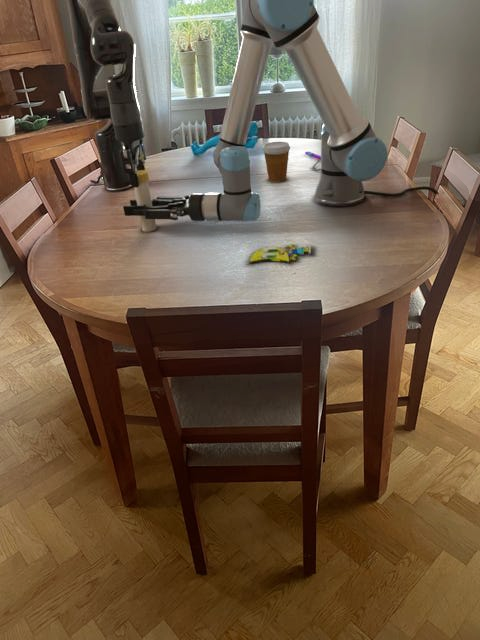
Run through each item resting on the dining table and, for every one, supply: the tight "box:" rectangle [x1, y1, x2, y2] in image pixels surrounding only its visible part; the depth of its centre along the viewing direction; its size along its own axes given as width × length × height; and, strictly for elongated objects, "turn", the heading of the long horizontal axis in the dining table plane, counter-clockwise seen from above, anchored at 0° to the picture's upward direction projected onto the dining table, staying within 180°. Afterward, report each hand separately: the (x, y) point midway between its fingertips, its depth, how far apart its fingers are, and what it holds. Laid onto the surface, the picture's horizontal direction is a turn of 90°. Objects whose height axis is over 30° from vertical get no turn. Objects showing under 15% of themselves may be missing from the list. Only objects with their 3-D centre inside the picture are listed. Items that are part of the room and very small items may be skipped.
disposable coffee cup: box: [262, 141, 291, 183], centre depth 169 cm, size 10×10×12 cm
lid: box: [137, 169, 150, 183], centre depth 133 cm, size 5×5×2 cm
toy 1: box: [190, 121, 260, 157], centre depth 206 cm, size 17×11×30 cm
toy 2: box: [248, 244, 312, 265], centre depth 120 cm, size 10×1×15 cm
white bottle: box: [133, 180, 157, 233], centre depth 137 cm, size 4×4×16 cm
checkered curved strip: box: [304, 151, 321, 171], centre depth 185 cm, size 24×2×20 cm
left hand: (139, 182), depth 134 cm, fingers open, 7 cm apart
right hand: (128, 207), depth 139 cm, fingers closed on white bottle, 4 cm apart
